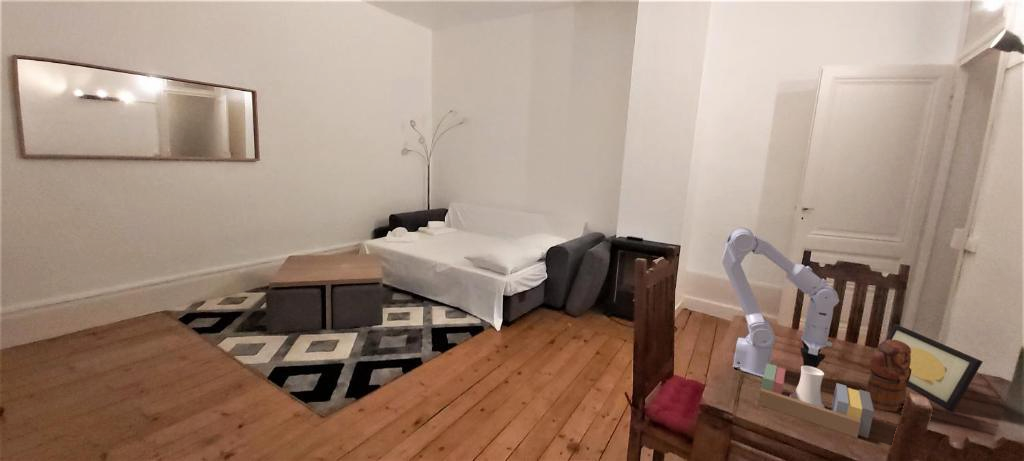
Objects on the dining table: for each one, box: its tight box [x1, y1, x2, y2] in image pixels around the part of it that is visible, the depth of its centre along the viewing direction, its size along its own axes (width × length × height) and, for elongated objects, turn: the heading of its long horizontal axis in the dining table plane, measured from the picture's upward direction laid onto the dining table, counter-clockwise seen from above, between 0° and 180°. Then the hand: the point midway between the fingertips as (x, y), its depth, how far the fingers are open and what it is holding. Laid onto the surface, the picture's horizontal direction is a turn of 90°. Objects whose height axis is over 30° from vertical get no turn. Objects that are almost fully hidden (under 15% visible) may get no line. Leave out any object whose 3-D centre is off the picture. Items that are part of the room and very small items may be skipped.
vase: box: [788, 365, 825, 408], centre depth 105 cm, size 8×8×10 cm
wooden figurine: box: [865, 339, 911, 412], centre depth 106 cm, size 12×6×18 cm, turn 118°
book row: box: [758, 363, 875, 439], centre depth 103 cm, size 22×12×7 cm, turn 53°
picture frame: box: [885, 323, 984, 412], centre depth 116 cm, size 23×9×15 cm, turn 1°
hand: (808, 368), depth 117 cm, fingers open, 7 cm apart
